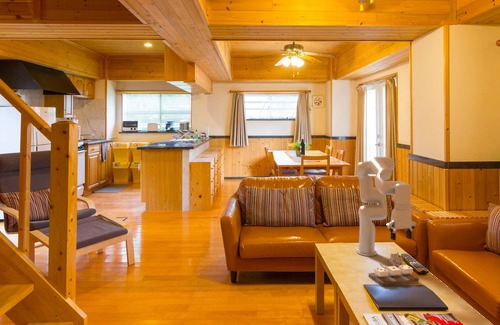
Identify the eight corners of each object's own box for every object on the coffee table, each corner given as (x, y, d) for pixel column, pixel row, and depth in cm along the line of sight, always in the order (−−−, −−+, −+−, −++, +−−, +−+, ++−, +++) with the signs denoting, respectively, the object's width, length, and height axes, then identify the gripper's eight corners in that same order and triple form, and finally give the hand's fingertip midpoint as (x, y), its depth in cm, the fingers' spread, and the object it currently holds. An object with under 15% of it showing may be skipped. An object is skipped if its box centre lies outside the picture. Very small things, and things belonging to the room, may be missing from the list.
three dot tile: (374, 272, 180) (374, 267, 180) (382, 271, 181) (382, 267, 181) (379, 276, 175) (380, 271, 175) (388, 275, 177) (388, 270, 176)
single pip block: (386, 271, 182) (386, 266, 182) (394, 270, 183) (394, 265, 183) (392, 275, 177) (392, 270, 177) (400, 274, 178) (400, 269, 178)
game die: (399, 273, 197) (407, 264, 190) (384, 267, 198) (392, 258, 192) (399, 261, 204) (407, 252, 197) (385, 256, 205) (393, 246, 198)
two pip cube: (398, 270, 184) (398, 265, 184) (406, 269, 185) (406, 264, 185) (404, 273, 179) (404, 268, 179) (412, 272, 180) (412, 268, 180)
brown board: (368, 277, 184) (368, 273, 184) (403, 273, 189) (403, 269, 189) (382, 286, 172) (382, 283, 172) (418, 282, 177) (418, 278, 177)
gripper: (410, 204, 182) (409, 235, 183) (383, 206, 177) (382, 238, 178) (421, 207, 174) (420, 239, 176) (392, 209, 170) (391, 242, 171)
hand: (400, 239), depth 177 cm, fingers open, 9 cm apart
